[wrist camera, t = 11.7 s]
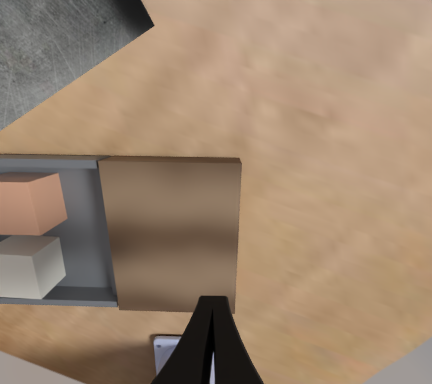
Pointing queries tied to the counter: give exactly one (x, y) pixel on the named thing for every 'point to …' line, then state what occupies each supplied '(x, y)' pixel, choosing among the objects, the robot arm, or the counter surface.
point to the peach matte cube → (30, 203)
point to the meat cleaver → (58, 45)
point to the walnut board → (172, 229)
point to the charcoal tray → (74, 230)
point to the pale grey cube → (30, 266)
